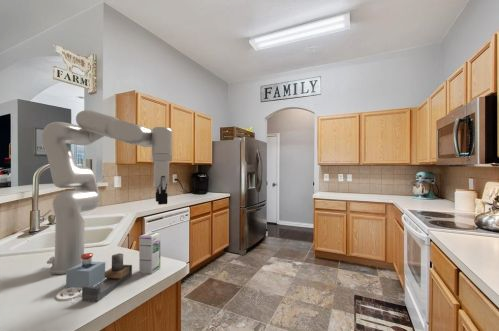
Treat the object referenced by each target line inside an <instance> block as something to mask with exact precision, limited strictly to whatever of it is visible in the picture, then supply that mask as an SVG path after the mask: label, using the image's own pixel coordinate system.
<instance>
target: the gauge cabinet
mask: <svg viewBox="0 0 499 331" xmlns="http://www.w3.org/2000/svg"><path fill="white" fill-rule="evenodd" d="M105 272H106V261H92V265H91V266H88V267H82V263H81V264H79V265H77V266H75V267H73V268H71V269H69V270H67V271H66V274H65V275H66V276H65V281H66V282H65V289H67V288H71V287H76V288H83V287H85V286H91V287H94V286H96V285H97V284H99V283H100V282H102V281H103V280H105V279H106V278H104V277H105Z"/></svg>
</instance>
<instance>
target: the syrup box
mask: <svg viewBox="0 0 499 331" xmlns="http://www.w3.org/2000/svg"><path fill="white" fill-rule="evenodd" d="M138 240H139V241H138V242H139V244H138V246H139V247H138V248H139V251H138V252H139V254H138V255H139V262H138V263H139V273H141V274H150V275H151V274H153V273H155V272H156V271H158V270H159V269H161V233H160V232H155V231H153V232H151V231H149V232H146V233H144V234H142V235H140V236H139V239H138Z"/></svg>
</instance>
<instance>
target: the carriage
mask: <svg viewBox="0 0 499 331" xmlns="http://www.w3.org/2000/svg"><path fill="white" fill-rule="evenodd" d="M123 265H124V253H115V254H113V255H111V267H110V268H109V269H108V270H105V277H104V278H105V279H106V278H122V277H124V276H125V275H126V274H128V273H129V267H123Z"/></svg>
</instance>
